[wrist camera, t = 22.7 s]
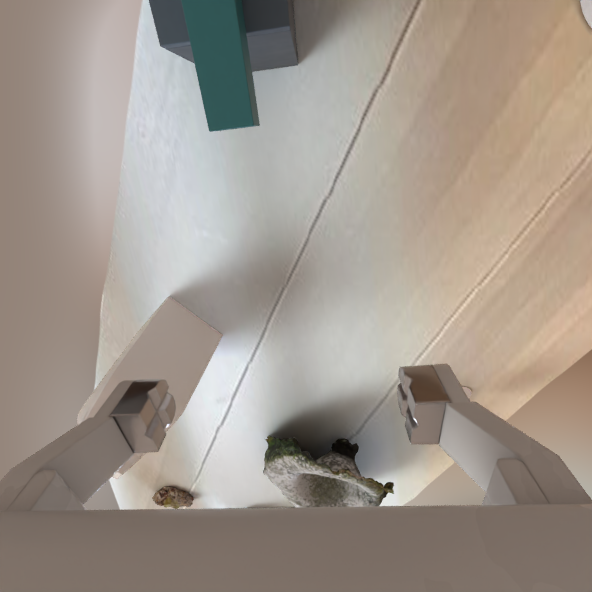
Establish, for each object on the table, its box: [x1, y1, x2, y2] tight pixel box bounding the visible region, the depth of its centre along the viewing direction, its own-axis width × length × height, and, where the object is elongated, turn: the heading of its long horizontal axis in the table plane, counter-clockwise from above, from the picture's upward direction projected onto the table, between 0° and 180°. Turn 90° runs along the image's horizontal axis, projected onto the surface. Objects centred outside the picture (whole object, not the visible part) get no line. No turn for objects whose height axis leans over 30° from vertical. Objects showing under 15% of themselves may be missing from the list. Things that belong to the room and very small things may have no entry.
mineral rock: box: [152, 487, 194, 509], centre depth 85 cm, size 11×4×8 cm
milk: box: [77, 296, 223, 479], centre depth 48 cm, size 12×12×26 cm
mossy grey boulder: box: [263, 436, 394, 507], centre depth 68 cm, size 29×30×15 cm
